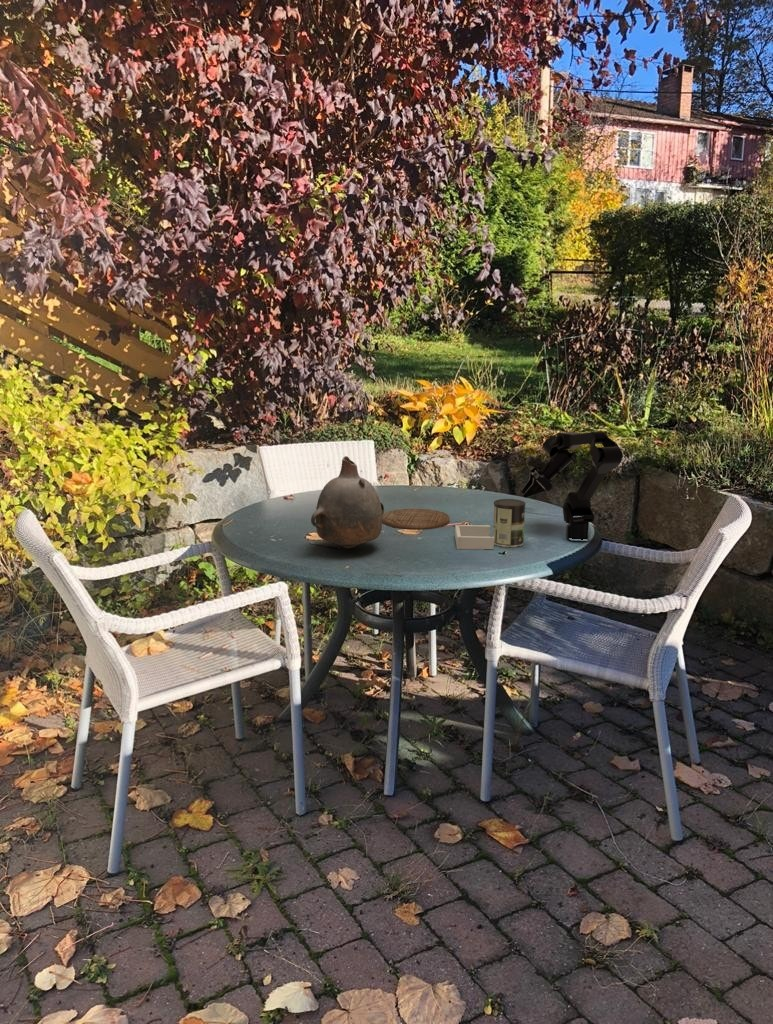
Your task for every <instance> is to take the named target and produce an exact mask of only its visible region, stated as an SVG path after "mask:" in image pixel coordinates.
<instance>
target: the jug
mask: <svg viewBox="0 0 773 1024" xmlns="http://www.w3.org/2000/svg"><path fill="white" fill-rule="evenodd" d="M340 468H341V469H340V471H339V474H338V476H337V477H334V478H332V479H330V480H329V481H328V482H327V483H325V485H324V487H323V488H322V490H321V492H320V494H319V495H318V500H317V504H316V510H315V511H314V512H313V513H312V515H311V518H310V522H311V523H310V524H311V525H312V526H313V527H315V528H316V532H317V536H318V537H319V538H320V539H321V540H324V541H326V542H328V543H331V544H335V545H340V546H341V547H343V548H345V549H347V550H349V549H352V548H355V547H357V546H360V545H362V544H364V543H371V542H373V541H375V540H376V539H378V538H379V537H380V535H381V532H382V529H383V528H382V527H383V522H382V516H383V514H384V513H385V508H384V507H385V506H384V504H383V503H382V502H381V500H380V498H379V495H378V492H377V490H376V488H375V487H374V486H373V484H372V483H371V482H370V481H369V480H367V479H366V478H364V477H361V476H360V474H359V470H358V466H357V464H356V463H355V462H354V461H353V460H351V458H350V457H348V456H347V455H345V456H343V457H342V460H341V466H340Z"/></svg>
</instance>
